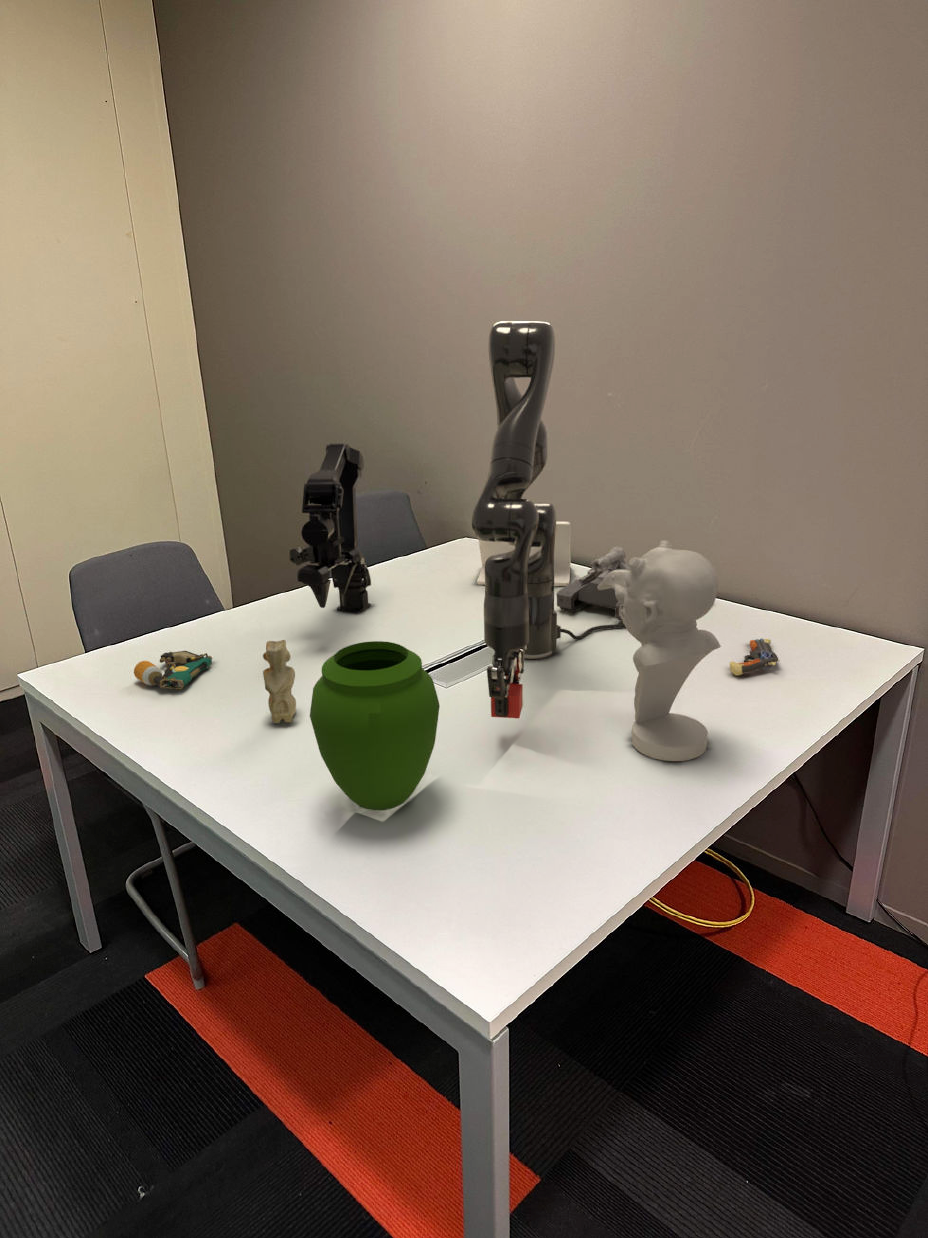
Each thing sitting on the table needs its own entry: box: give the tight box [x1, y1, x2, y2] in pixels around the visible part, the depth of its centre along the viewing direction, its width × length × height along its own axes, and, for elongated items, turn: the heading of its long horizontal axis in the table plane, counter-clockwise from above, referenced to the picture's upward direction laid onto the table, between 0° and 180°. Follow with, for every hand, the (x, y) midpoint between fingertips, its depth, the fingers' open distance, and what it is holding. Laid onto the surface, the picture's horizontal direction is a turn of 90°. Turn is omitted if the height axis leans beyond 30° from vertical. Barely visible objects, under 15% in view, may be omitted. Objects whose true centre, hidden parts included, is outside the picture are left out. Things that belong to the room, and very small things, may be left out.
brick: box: [490, 683, 524, 719], centre depth 148 cm, size 5×5×4 cm
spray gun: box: [133, 650, 213, 690], centre depth 180 cm, size 4×17×15 cm
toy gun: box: [729, 638, 780, 676], centre depth 179 cm, size 3×19×10 cm
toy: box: [556, 546, 630, 622], centre depth 212 cm, size 25×20×15 cm
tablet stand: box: [476, 521, 572, 587], centre depth 236 cm, size 18×25×17 cm
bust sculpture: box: [597, 540, 722, 762], centre depth 146 cm, size 16×24×35 cm
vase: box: [309, 640, 441, 811], centre depth 130 cm, size 20×20×24 cm
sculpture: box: [262, 639, 297, 724], centre depth 158 cm, size 6×7×15 cm
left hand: (332, 600), depth 194 cm, fingers open, 9 cm apart
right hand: (507, 707), depth 148 cm, fingers closed on brick, 5 cm apart
